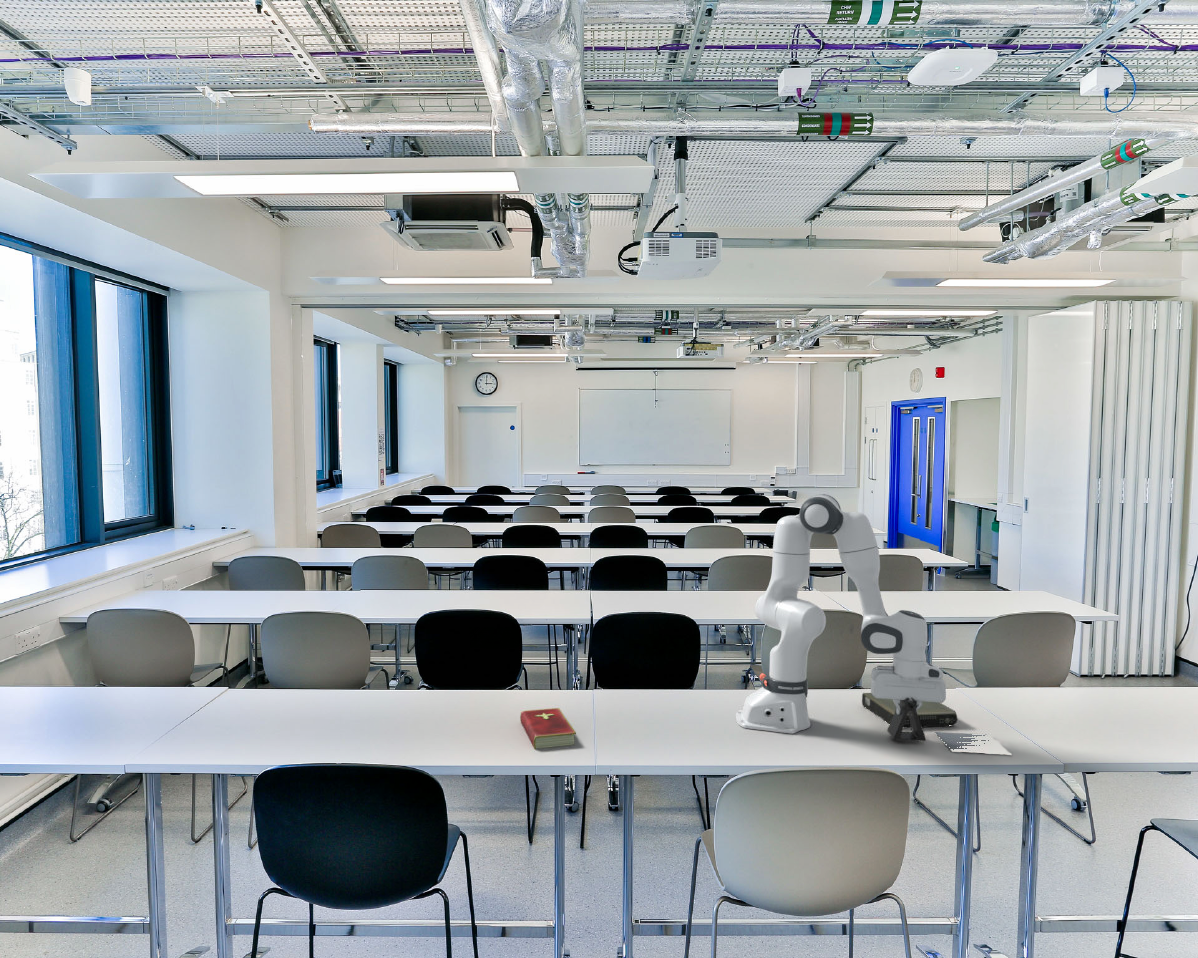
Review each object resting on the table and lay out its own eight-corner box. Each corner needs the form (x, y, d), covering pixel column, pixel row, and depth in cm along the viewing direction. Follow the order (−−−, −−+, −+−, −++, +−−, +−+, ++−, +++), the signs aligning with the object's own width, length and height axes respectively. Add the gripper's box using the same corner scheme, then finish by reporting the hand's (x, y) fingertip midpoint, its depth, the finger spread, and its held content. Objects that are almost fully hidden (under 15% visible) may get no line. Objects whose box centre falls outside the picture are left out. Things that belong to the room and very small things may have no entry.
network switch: (915, 702, 252) (915, 687, 252) (965, 727, 230) (966, 711, 229) (854, 707, 246) (855, 692, 246) (900, 733, 224) (901, 717, 223)
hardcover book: (533, 750, 206) (533, 735, 206) (520, 723, 226) (520, 710, 226) (575, 746, 209) (575, 731, 209) (558, 720, 229) (558, 706, 229)
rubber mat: (952, 752, 209) (952, 750, 209) (934, 733, 223) (934, 731, 223) (1012, 755, 207) (1012, 753, 207) (990, 736, 221) (990, 734, 221)
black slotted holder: (893, 739, 214) (894, 697, 214) (887, 731, 220) (888, 691, 219) (925, 741, 213) (927, 699, 213) (918, 733, 219) (920, 692, 219)
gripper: (874, 667, 214) (872, 715, 214) (949, 672, 212) (946, 721, 212) (869, 662, 220) (867, 708, 220) (941, 666, 218) (939, 713, 218)
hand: (906, 714), depth 216 cm, fingers closed on black slotted holder, 2 cm apart
